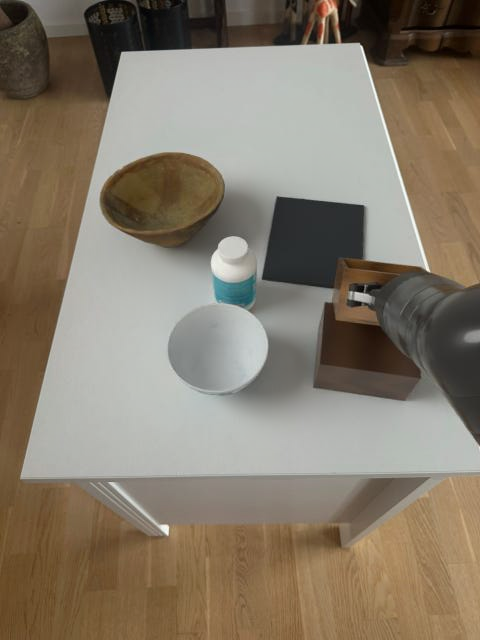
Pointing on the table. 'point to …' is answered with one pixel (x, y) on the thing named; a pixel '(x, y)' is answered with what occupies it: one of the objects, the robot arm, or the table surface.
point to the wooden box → (362, 273)
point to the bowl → (162, 197)
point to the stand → (361, 360)
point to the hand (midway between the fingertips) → (389, 290)
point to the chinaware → (217, 348)
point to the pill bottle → (234, 273)
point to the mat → (312, 240)
